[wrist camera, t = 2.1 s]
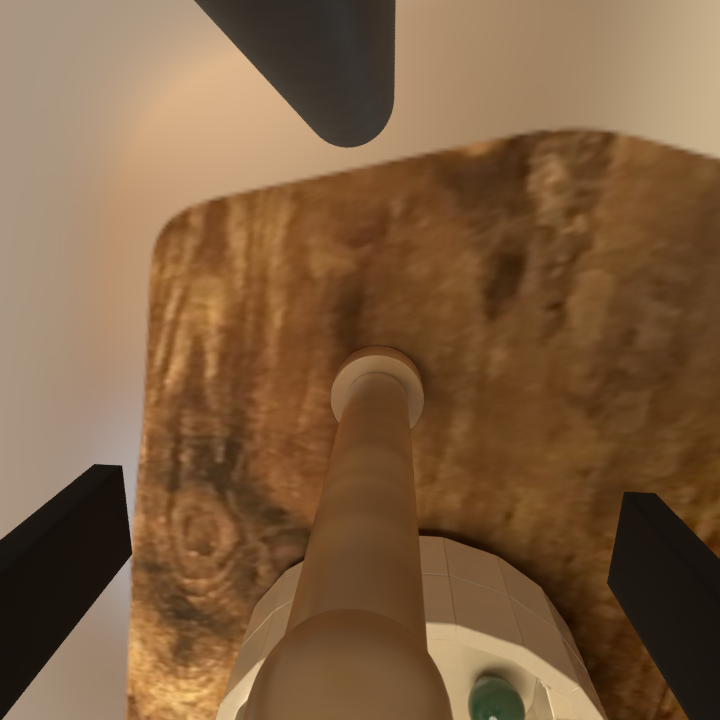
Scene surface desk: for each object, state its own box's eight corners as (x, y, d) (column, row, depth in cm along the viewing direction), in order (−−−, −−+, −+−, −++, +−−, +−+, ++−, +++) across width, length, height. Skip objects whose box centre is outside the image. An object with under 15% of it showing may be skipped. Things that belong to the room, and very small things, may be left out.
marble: (466, 660, 26) (474, 711, 23) (520, 664, 26) (535, 716, 23) (461, 701, 27) (469, 756, 24) (514, 705, 26) (528, 761, 24)
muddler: (334, 343, 22) (163, 716, 6) (424, 347, 22) (522, 746, 5) (334, 426, 23) (189, 939, 7) (419, 430, 23) (487, 970, 6)
